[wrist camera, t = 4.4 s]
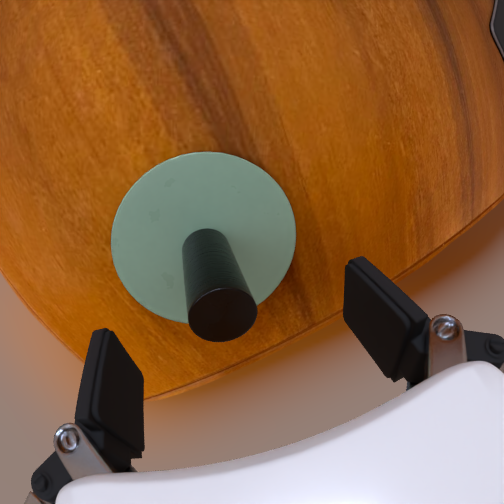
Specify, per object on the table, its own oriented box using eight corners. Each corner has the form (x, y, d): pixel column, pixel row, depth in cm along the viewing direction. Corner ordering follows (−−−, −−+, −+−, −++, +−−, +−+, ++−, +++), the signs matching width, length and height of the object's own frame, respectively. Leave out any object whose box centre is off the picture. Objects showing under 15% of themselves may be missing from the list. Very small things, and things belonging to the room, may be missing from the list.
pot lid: (152, 330, 19) (152, 411, 12) (89, 184, 13) (34, 231, 7) (296, 288, 20) (342, 355, 14) (277, 133, 15) (346, 145, 9)
